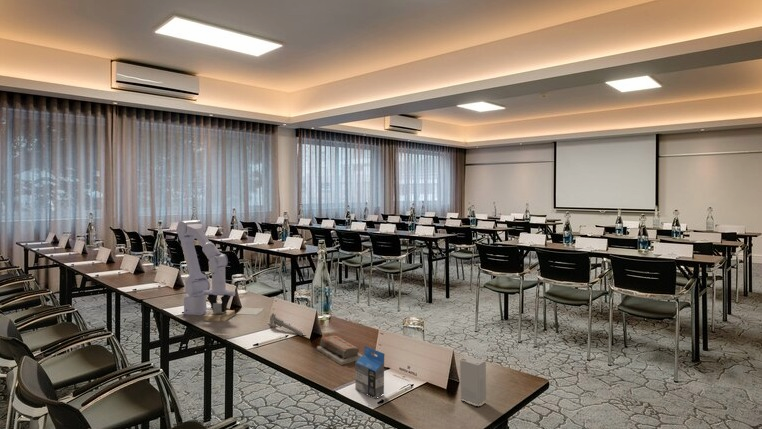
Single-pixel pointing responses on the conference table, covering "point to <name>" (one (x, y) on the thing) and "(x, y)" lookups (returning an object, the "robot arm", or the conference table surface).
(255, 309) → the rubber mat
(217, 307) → the key peg
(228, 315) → the holder block
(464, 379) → the skincare box
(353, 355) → the packaged product
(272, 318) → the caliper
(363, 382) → the label tape cartridge
